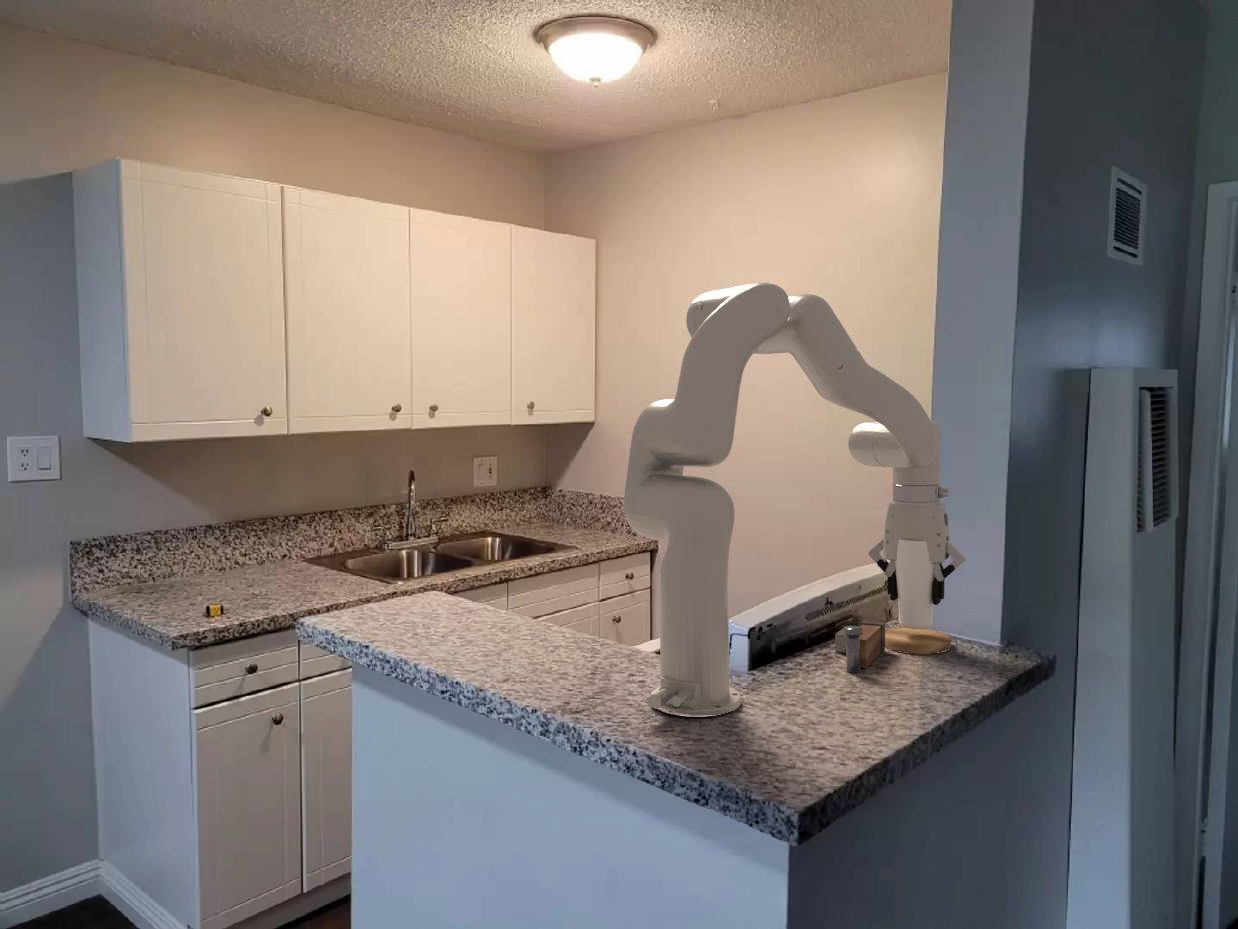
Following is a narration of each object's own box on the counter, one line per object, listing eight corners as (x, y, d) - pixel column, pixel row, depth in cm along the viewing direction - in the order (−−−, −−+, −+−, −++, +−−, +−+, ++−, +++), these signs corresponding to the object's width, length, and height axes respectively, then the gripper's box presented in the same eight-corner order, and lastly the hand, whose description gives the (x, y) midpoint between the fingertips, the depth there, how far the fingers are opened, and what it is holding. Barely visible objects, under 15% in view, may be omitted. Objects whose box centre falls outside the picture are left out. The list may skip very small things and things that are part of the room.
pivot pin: (859, 675, 135) (859, 631, 135) (841, 672, 137) (841, 629, 136) (864, 670, 137) (864, 627, 137) (847, 667, 139) (846, 624, 138)
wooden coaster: (943, 657, 143) (943, 648, 143) (874, 649, 149) (874, 640, 149) (956, 641, 152) (956, 632, 152) (891, 633, 158) (891, 625, 158)
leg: (885, 649, 148) (885, 622, 147) (867, 668, 138) (867, 639, 138) (864, 647, 149) (864, 620, 149) (845, 665, 140) (845, 636, 139)
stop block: (849, 653, 146) (849, 635, 146) (835, 651, 148) (835, 634, 147) (856, 647, 150) (856, 630, 150) (842, 645, 151) (842, 628, 151)
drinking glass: (931, 621, 153) (931, 534, 152) (941, 631, 147) (942, 541, 145) (890, 621, 154) (891, 534, 153) (899, 631, 147) (899, 541, 146)
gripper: (975, 494, 147) (974, 602, 149) (870, 490, 156) (870, 592, 158) (966, 499, 141) (965, 611, 142) (858, 494, 150) (857, 600, 151)
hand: (915, 600), depth 150 cm, fingers closed on drinking glass, 6 cm apart
